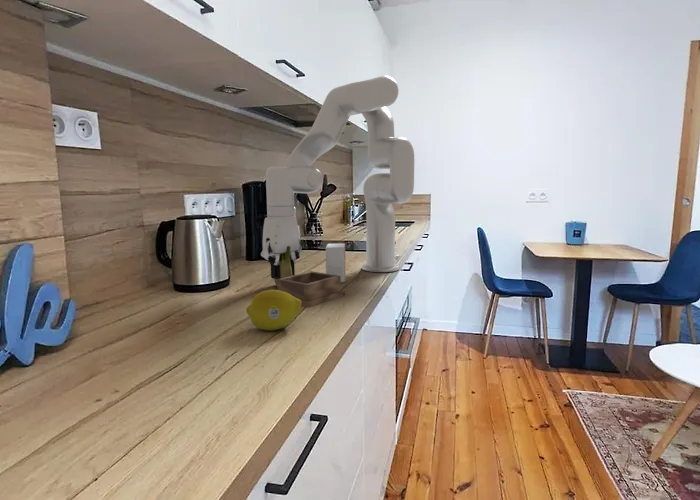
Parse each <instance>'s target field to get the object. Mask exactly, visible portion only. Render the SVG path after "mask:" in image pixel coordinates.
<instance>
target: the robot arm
mask: <svg viewBox="0 0 700 500" xmlns="http://www.w3.org/2000/svg"><path fill="white" fill-rule="evenodd" d="M398 96H399V86H398V83H397V81H396V80H395V79H394V78H393V77H391V76H389V75H382V76H377V77H374V78H370V79H365V80H361V81H356V82H351V83H347V84H343V85H341V86H337V87H334V88H332V89H331V90H330V91H329V92H328V94H327V95H326V96H325V99H324V101H323V104H322V105H321V108H320V110H319V111H318V113H317V116H316V118H315V120H314V121H313V124H312V126H311V128H310V130H309V131H308V132H307V133H306V135H305V136H303V138H302V139H301V140H300V141H299V143H298V144H297V145H296V146H295V147H294V149H293V150H292V152H291V153H290V154H289V156H288V158H287V160H286V162H285V164H284V166H269V167H268V168H267V169H266V171H265V188H266V212H267V215H266V216H267V217H265V218H264V221H263V228H262V251H261V252H260V256H261V257H262V258H264V259H265V261H267V263H268V264H269V265H270V278H271V279H273V280H274V279H280V265H278V262H279V256H280V254H283V253H286V250H287V246H290V264H291V268H292V276H293V275H296V274H295V272H296V271H295V263H296V261H297V258H298V256H299V253H300V252H301V251H302V249H303V248H302V245H301V244H300V237H299V228H298V220H297V217H296V212H297V208H296V207H295V194H314V193H316V192H318V191H319V190H320V189H321V188H322V187H323V185H324V176H323V173H322V172H321V171H320V170H319V169H318V168H316V167H313V166H312V165H313V163H314V162H315V161H316V160H317V159H318V158H319V157H321V156H323V154H325V153H327V152H328V151H331V149H333V148H334V147H336V145H337V144H338V143H339V140H340V138H341V136H342V133H343V131H344V129H345V127H346V125H347V123H348V121H349V119H350V117H351V116H354V115H359V114H362V116H363V118H364V120H365V122H366V126H367V127H366V128H367V160H368V163H369V165H370V166H371V167H372V168H374V169H376V170H389V172H383V173H382V172H381V173H380V172H379V173H375V174H372V175H370V176H368V177H367V178H366V179H365V181H364V183H363V196H364V201H365V212H366V216H365V217H366V222H365V223H366V227H365V228H366V230H365V231H366V236H365V237H366V242H365V243H366V245H365V247H366V249H365V250H366V253H365V255H366V259H365V260H366V262H365V263H363V264H361V269H362V271H365V272H371V273H390V272H391V273H392V272H396V271H398V270H400V265H399V264H398V263H396V261H399V260H401V255H400V254H395V253H396V248H395V247H396V214H395V213H396V212H395V209H394V207H393V204H394V205H395V204H396V205H397V204H399V205H402V204H406V203H407V202H409V201H410V200H411V198H412V196H413V194H414V193H413V192H414V189H415V187H414V186H415V150H414V147H413V145H412V143H411V141H410V140H408V138H406V137H403V136H395V121H394V118H393V116H392V113H391V112H390V111H389V109H388V108H387V107H389V106H392V105H393V104H394V103H395V102H396V100H397V99H398ZM274 256H275V259H274Z"/></svg>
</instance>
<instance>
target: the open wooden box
mask: <svg viewBox="0 0 700 500" xmlns="http://www.w3.org/2000/svg"><path fill="white" fill-rule="evenodd" d="M276 286H277V290H281V291H284V292H287V293H289V294H290V295H292V296H293V297H295V298H298V299H299V300H301V307H307V308H309V307H312V306H315V305H318V304H321V303H323V302H328V301H329V300H331V301H332V300H334V299H337V298H339V297H343V296H345V295H346V290H342V288H341V286H342V282H341V276H338V275H332V274H326V272H325V273H324V272H318V271H313V270H310V271H306V272H302V273H298V274H295V275H293V276H289V277H285V278H281V279H277V285H276Z"/></svg>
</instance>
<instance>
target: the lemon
mask: <svg viewBox="0 0 700 500" xmlns="http://www.w3.org/2000/svg"><path fill="white" fill-rule="evenodd" d="M250 302H251V303H250V304H249V305H248V306H247V307H246V314H247V315H248V317H249V318H250V321H251V323H252V324H253V326H255V327H256V328H257V329H260V330H263V331H276V330H280V329H282V328H284V327H286V326H288V325H289V324H291V323H292V322H293V321H294V319H295V318H296V317H297V316H298V315H299V314H300V313H301V311H302V310H301V309H302V306H301V300H299V299H298V298H295V297H293V296H292V295H290V294H289V293H287V292H284V291H281V290H278V289H267V290H263V291H260V292H258V293H257V294H255V295H254V296H253V298H252V300H251V301H250Z"/></svg>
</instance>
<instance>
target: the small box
mask: <svg viewBox="0 0 700 500" xmlns="http://www.w3.org/2000/svg"><path fill="white" fill-rule="evenodd" d="M325 273H326V274H332V275H338V276H341V283H345V282H346V243H327V244H326V247H325Z"/></svg>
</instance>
